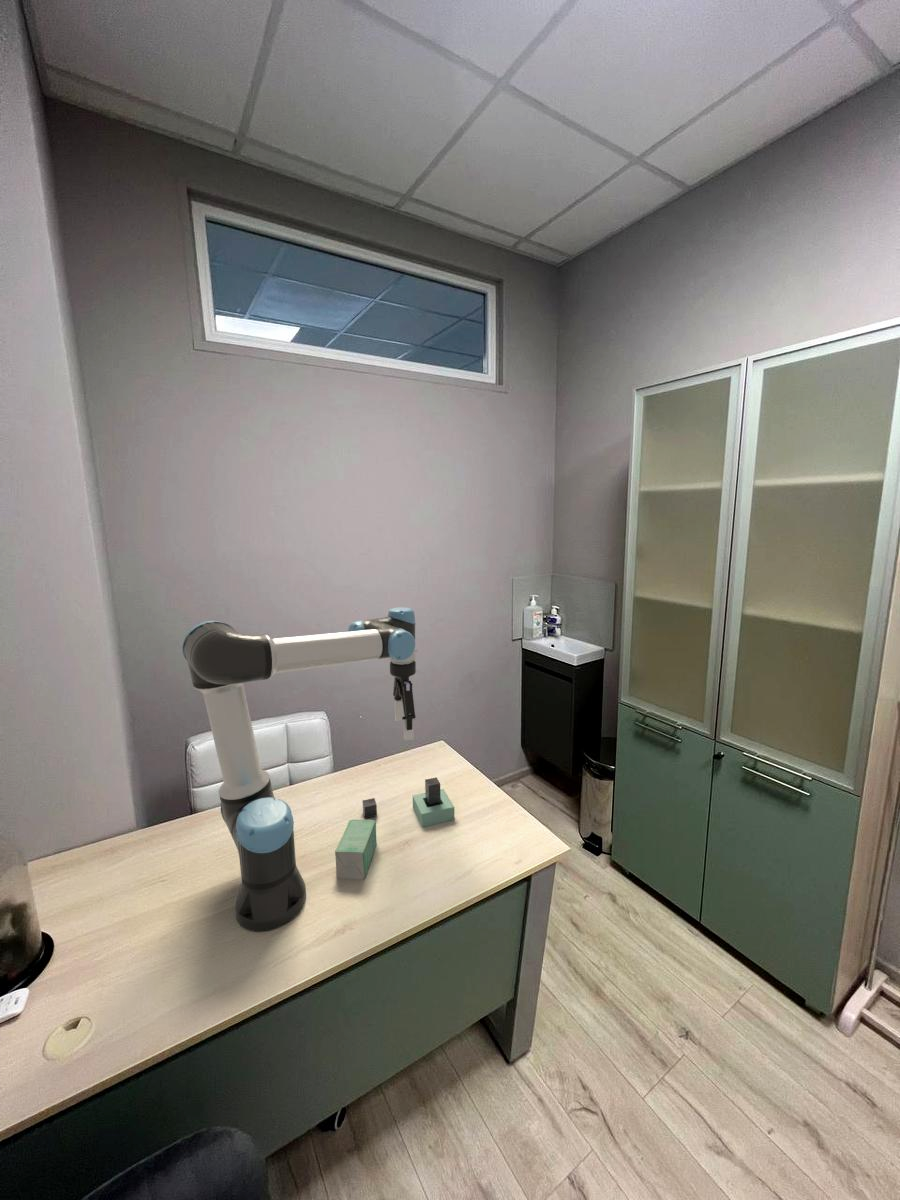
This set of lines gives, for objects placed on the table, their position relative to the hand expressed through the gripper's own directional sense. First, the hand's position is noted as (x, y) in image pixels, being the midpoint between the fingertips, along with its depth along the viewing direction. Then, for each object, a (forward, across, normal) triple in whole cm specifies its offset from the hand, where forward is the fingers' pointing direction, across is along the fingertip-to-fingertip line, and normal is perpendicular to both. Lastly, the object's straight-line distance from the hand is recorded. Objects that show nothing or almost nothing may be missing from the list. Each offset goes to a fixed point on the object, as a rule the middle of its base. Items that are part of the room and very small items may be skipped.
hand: (404, 729), depth 142 cm
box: (+26, -18, +16) cm, 36 cm away
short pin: (+25, 0, +11) cm, 28 cm away
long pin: (+25, -6, -7) cm, 27 cm away
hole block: (+25, -6, -7) cm, 27 cm away
